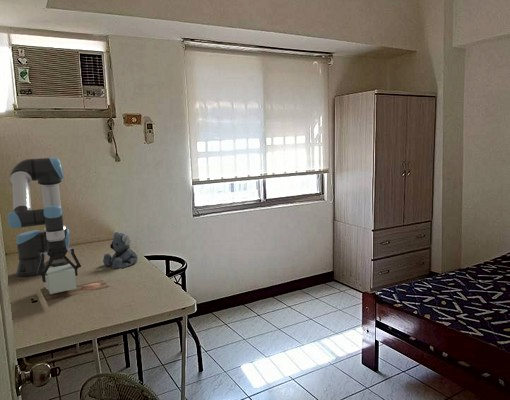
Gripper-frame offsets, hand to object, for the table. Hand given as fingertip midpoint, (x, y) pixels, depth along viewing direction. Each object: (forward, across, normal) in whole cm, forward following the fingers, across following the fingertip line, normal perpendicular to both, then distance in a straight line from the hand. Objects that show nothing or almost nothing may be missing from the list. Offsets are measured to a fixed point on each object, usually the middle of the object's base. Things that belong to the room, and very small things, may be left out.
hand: (61, 285), depth 188 cm
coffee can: (+5, +1, +13) cm, 14 cm away
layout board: (+5, +6, 0) cm, 8 cm away
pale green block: (+1, 0, 0) cm, 1 cm away
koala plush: (+5, +38, +34) cm, 51 cm away
